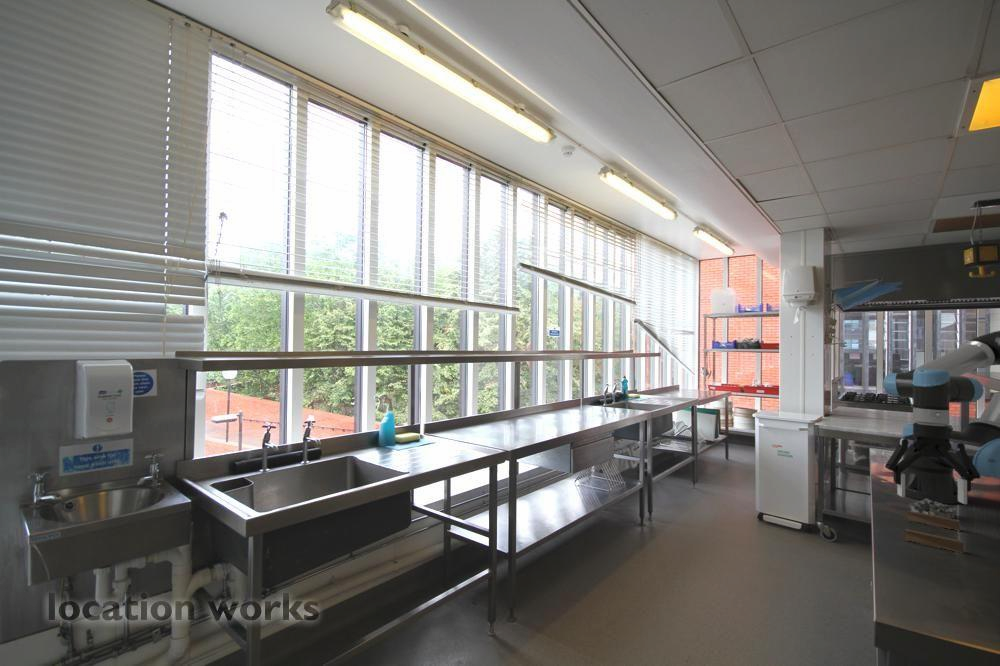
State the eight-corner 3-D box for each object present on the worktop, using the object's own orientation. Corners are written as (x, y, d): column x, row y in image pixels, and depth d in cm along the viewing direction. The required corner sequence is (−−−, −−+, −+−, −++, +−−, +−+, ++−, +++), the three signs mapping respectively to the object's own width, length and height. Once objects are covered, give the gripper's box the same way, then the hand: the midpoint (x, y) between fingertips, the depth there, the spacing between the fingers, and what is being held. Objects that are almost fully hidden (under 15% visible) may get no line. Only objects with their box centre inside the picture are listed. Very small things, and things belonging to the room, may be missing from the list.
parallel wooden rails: (908, 519, 125) (907, 510, 125) (959, 530, 118) (959, 520, 119) (905, 540, 112) (905, 530, 112) (963, 554, 105) (963, 543, 105)
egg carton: (939, 525, 123) (939, 509, 123) (905, 515, 129) (905, 501, 130) (960, 519, 127) (959, 504, 127) (926, 510, 134) (925, 495, 134)
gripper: (882, 422, 130) (882, 497, 129) (997, 429, 121) (998, 510, 120) (871, 418, 137) (871, 489, 136) (979, 425, 128) (980, 501, 127)
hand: (931, 499), depth 128 cm, fingers open, 13 cm apart
